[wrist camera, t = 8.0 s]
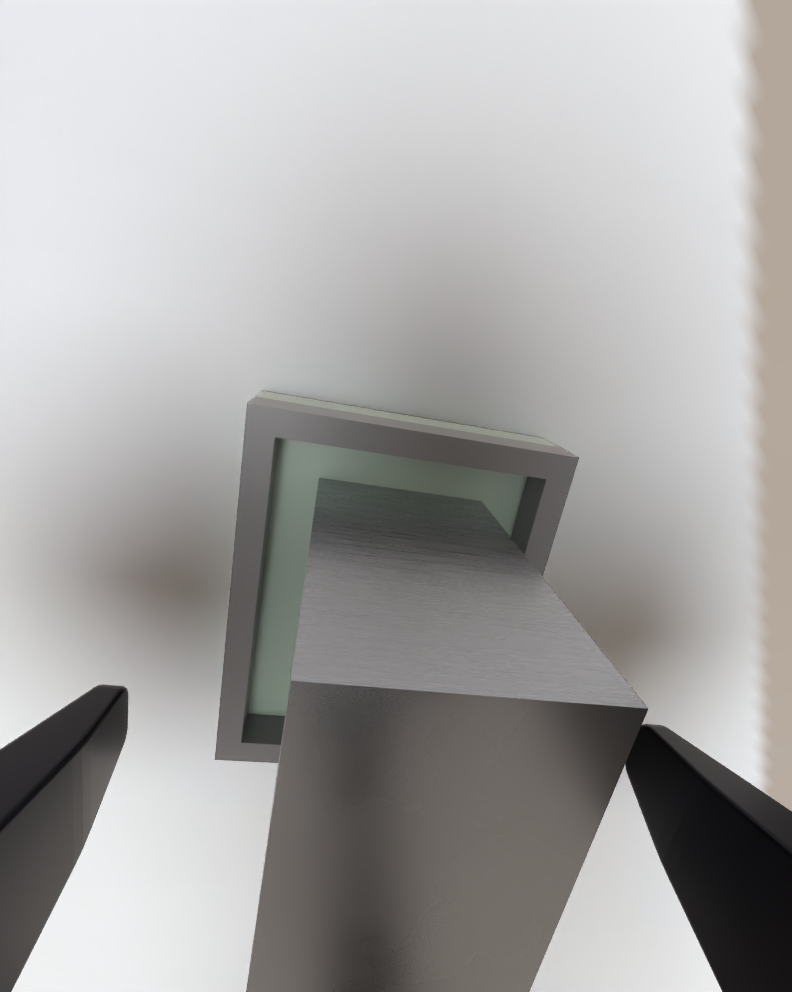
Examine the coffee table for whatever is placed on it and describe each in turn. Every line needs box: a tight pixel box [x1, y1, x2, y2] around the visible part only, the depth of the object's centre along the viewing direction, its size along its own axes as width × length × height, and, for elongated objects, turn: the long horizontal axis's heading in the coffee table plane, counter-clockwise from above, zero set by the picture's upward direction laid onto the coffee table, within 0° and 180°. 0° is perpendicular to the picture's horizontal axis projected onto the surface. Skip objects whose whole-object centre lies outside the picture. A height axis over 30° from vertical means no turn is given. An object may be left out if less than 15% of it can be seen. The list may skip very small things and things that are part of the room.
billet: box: [246, 478, 648, 992], centre depth 9 cm, size 6×4×7 cm, turn 169°
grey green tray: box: [215, 391, 579, 763], centre depth 13 cm, size 9×7×2 cm
